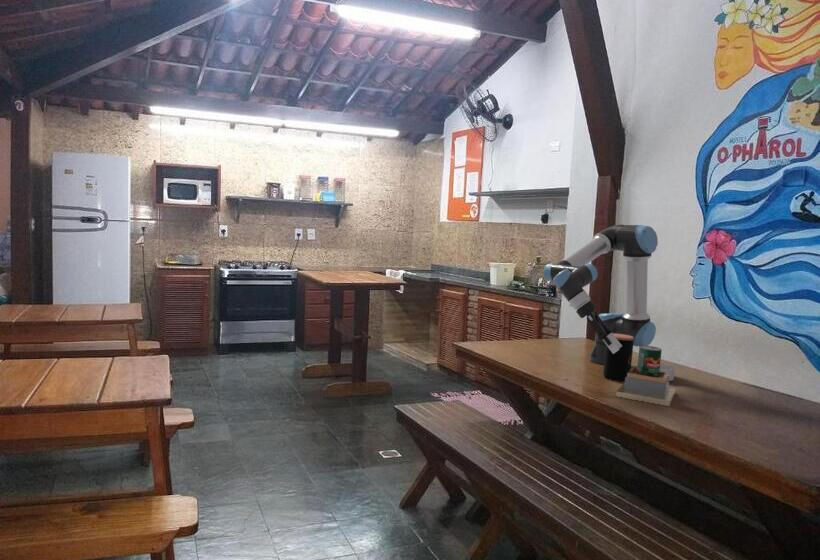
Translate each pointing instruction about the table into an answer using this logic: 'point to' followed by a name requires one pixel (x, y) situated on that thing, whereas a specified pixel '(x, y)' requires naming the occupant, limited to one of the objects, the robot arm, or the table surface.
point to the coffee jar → (619, 359)
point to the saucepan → (666, 370)
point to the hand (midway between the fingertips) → (617, 350)
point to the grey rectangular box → (647, 388)
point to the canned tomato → (649, 361)
